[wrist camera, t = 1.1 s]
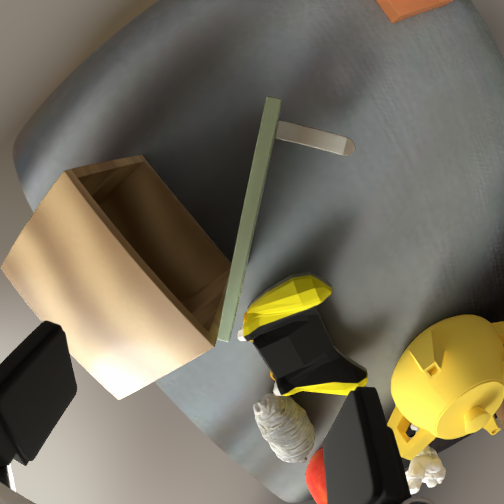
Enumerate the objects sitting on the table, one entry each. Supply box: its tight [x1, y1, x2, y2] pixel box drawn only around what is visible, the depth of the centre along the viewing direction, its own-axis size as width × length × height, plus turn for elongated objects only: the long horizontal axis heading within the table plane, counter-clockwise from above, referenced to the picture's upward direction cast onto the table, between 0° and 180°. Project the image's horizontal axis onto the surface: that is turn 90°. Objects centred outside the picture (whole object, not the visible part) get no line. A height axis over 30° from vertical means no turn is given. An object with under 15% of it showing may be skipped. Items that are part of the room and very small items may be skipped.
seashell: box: [253, 393, 315, 462], centre depth 35 cm, size 6×14×8 cm, turn 23°
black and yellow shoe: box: [238, 272, 368, 396], centre depth 31 cm, size 15×6×10 cm
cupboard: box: [1, 155, 232, 400], centre depth 26 cm, size 11×15×13 cm
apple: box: [306, 447, 327, 504], centre depth 36 cm, size 11×11×11 cm
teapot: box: [387, 314, 504, 461], centre depth 28 cm, size 17×17×12 cm
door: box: [217, 96, 355, 342], centre depth 23 cm, size 6×15×12 cm, turn 168°
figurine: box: [405, 424, 446, 494], centre depth 33 cm, size 10×5×12 cm, turn 51°
